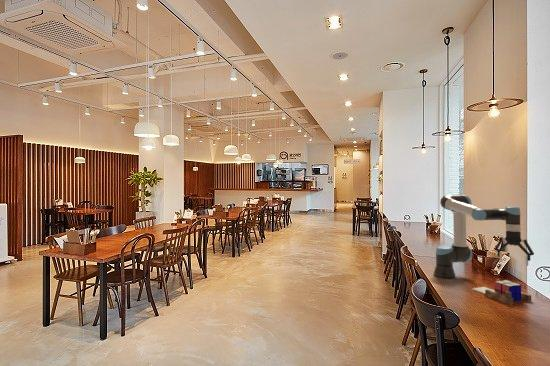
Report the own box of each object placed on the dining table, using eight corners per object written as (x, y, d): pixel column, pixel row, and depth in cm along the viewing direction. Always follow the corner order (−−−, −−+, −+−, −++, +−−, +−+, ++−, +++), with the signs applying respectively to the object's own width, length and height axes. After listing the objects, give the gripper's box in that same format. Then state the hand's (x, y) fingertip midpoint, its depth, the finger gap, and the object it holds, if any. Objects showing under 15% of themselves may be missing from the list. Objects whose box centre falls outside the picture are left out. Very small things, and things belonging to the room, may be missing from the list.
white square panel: (472, 289, 212) (472, 288, 212) (484, 287, 215) (484, 286, 215) (487, 295, 201) (487, 293, 201) (499, 293, 204) (499, 292, 204)
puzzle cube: (509, 302, 189) (509, 286, 189) (494, 296, 198) (494, 281, 198) (521, 300, 191) (521, 284, 191) (505, 295, 201) (505, 280, 201)
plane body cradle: (485, 295, 200) (484, 282, 200) (505, 292, 205) (505, 279, 205) (510, 305, 185) (510, 290, 185) (531, 301, 190) (531, 287, 190)
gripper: (488, 229, 204) (489, 261, 204) (537, 233, 185) (537, 268, 185) (491, 228, 209) (492, 259, 209) (539, 232, 190) (540, 266, 189)
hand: (513, 263), depth 197 cm, fingers open, 13 cm apart
